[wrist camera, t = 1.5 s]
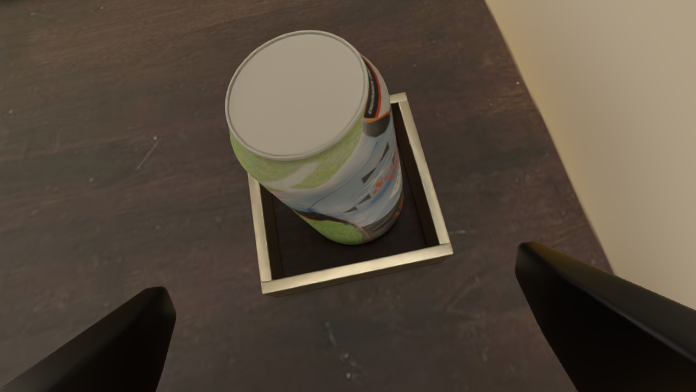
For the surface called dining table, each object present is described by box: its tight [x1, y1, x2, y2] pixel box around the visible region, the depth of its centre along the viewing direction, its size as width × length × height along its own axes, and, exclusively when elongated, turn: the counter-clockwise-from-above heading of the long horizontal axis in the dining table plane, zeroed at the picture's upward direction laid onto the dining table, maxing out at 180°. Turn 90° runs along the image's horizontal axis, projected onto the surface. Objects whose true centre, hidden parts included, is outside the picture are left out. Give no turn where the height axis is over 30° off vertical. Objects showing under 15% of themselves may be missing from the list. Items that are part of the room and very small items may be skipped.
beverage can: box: [225, 30, 404, 245], centre depth 17 cm, size 6×7×12 cm
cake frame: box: [248, 92, 454, 297], centre depth 21 cm, size 10×10×3 cm
